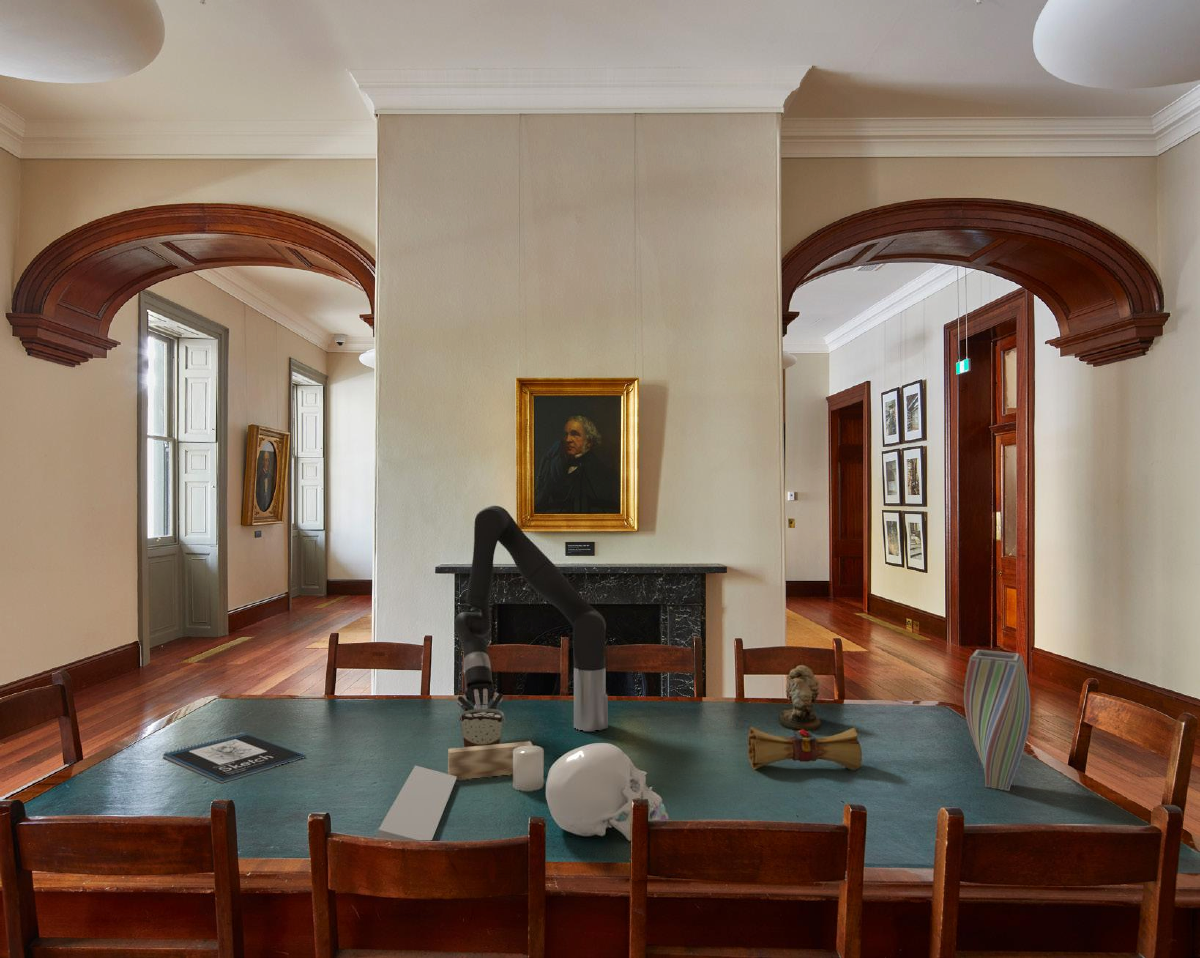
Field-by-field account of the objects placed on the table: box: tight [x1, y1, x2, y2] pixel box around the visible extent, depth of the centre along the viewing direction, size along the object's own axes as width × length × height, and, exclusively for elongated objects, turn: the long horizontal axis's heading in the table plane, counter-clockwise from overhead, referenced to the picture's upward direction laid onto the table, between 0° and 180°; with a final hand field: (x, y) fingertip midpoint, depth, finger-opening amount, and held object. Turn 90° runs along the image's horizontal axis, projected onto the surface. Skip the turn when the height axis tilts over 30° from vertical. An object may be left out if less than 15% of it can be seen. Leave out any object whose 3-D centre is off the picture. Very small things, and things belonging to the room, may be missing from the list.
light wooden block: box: [447, 740, 534, 781], centre depth 180 cm, size 20×5×6 cm, turn 107°
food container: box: [458, 708, 506, 747], centre depth 198 cm, size 12×6×10 cm, turn 84°
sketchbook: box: [162, 731, 307, 784], centre depth 191 cm, size 22×30×2 cm
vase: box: [963, 649, 1032, 792], centre depth 174 cm, size 14×14×30 cm
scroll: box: [747, 726, 863, 771], centre depth 185 cm, size 27×10×10 cm, turn 89°
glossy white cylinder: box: [512, 745, 545, 792], centre depth 173 cm, size 7×7×8 cm
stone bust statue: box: [778, 664, 821, 732], centre depth 223 cm, size 18×12×17 cm, turn 175°
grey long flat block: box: [375, 765, 457, 840], centre depth 156 cm, size 34×5×10 cm
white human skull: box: [545, 742, 670, 842], centre depth 149 cm, size 16×20×22 cm
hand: (483, 728), depth 200 cm, fingers closed
